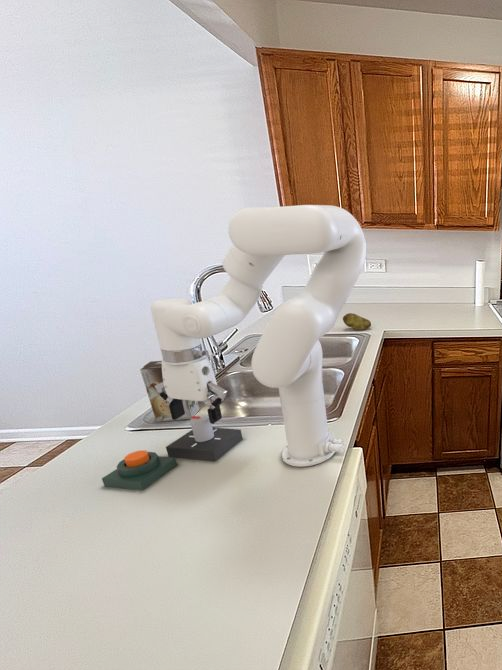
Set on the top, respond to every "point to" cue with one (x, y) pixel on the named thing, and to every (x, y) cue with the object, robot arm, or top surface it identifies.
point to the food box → (160, 408)
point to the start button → (136, 458)
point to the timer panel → (205, 445)
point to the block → (139, 473)
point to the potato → (356, 321)
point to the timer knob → (201, 428)
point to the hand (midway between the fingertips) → (197, 419)
